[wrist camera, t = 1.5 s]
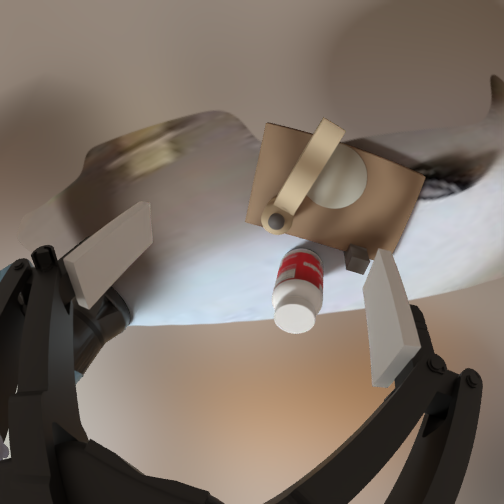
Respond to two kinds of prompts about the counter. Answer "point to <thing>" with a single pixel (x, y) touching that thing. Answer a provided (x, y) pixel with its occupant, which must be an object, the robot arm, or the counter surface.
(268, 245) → the counter surface
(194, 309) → the counter surface
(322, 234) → the board
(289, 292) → the pill bottle
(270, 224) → the leg bar
